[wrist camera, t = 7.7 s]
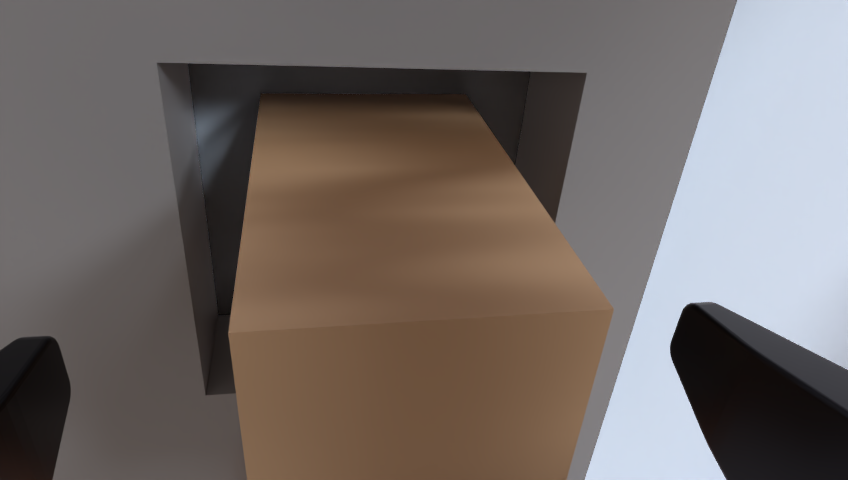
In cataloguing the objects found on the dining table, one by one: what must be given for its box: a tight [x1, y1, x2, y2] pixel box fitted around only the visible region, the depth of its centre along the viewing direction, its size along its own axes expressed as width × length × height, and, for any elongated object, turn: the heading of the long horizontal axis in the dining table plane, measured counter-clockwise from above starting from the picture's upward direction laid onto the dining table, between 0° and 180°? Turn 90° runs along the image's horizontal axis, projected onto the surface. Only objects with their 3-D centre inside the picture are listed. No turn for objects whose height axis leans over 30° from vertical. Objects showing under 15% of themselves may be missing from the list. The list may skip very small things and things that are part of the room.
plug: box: [228, 93, 614, 480], centre depth 10 cm, size 4×4×7 cm
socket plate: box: [0, 0, 737, 480], centre depth 12 cm, size 22×14×3 cm, turn 86°
